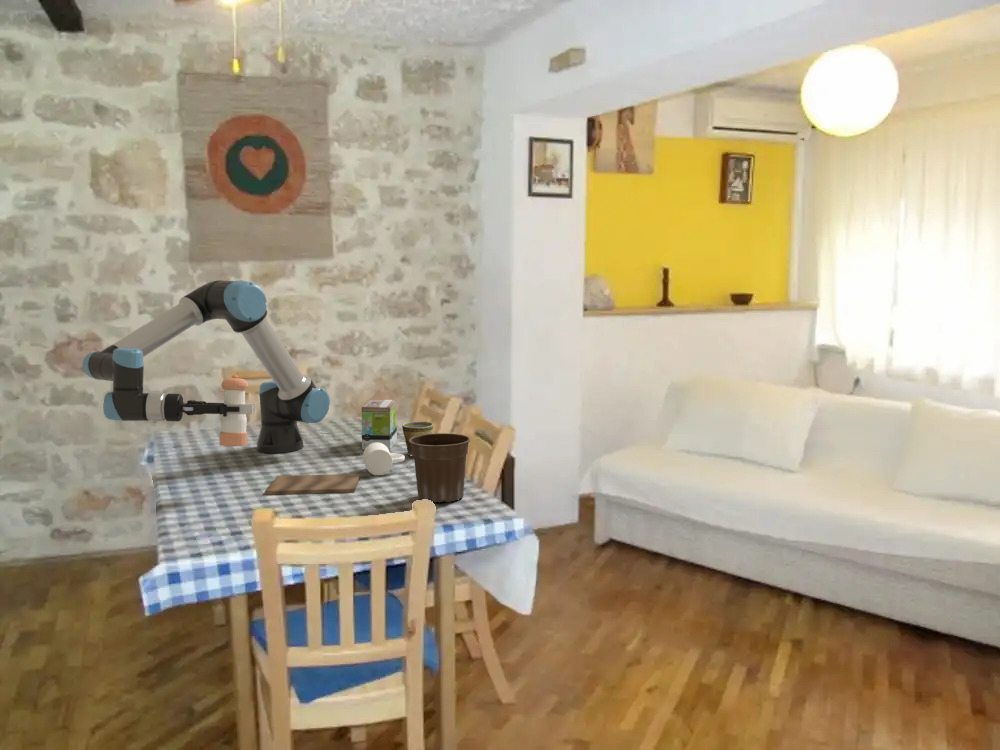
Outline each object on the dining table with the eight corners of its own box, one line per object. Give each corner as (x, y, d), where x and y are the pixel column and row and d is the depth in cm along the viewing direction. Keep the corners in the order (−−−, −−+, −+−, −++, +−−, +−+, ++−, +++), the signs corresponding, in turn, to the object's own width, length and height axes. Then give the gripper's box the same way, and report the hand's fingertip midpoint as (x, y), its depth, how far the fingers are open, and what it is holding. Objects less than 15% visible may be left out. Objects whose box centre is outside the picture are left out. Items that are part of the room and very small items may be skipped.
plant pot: (428, 486, 248) (426, 430, 245) (480, 492, 242) (480, 434, 239) (399, 502, 233) (398, 442, 231) (455, 508, 227) (454, 447, 224)
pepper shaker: (250, 444, 245) (252, 375, 245) (242, 446, 238) (244, 375, 238) (224, 443, 246) (226, 374, 245) (215, 445, 238) (217, 374, 238)
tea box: (391, 450, 293) (390, 406, 290) (361, 450, 293) (359, 406, 291) (397, 440, 307) (396, 398, 305) (368, 440, 308) (367, 398, 306)
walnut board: (266, 494, 242) (265, 490, 241) (277, 479, 257) (276, 475, 257) (354, 492, 243) (354, 488, 243) (360, 477, 259) (359, 473, 259)
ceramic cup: (433, 458, 281) (433, 427, 280) (402, 458, 281) (401, 428, 279) (434, 448, 294) (433, 419, 293) (403, 449, 293) (403, 420, 292)
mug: (366, 476, 259) (365, 450, 258) (363, 468, 269) (362, 443, 268) (406, 474, 262) (406, 447, 261) (403, 466, 272) (402, 440, 271)
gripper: (173, 418, 248) (258, 420, 252) (157, 423, 230) (248, 424, 233) (173, 392, 248) (258, 393, 252) (157, 394, 230) (249, 396, 233)
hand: (253, 408), depth 242 cm, fingers closed on pepper shaker, 5 cm apart
